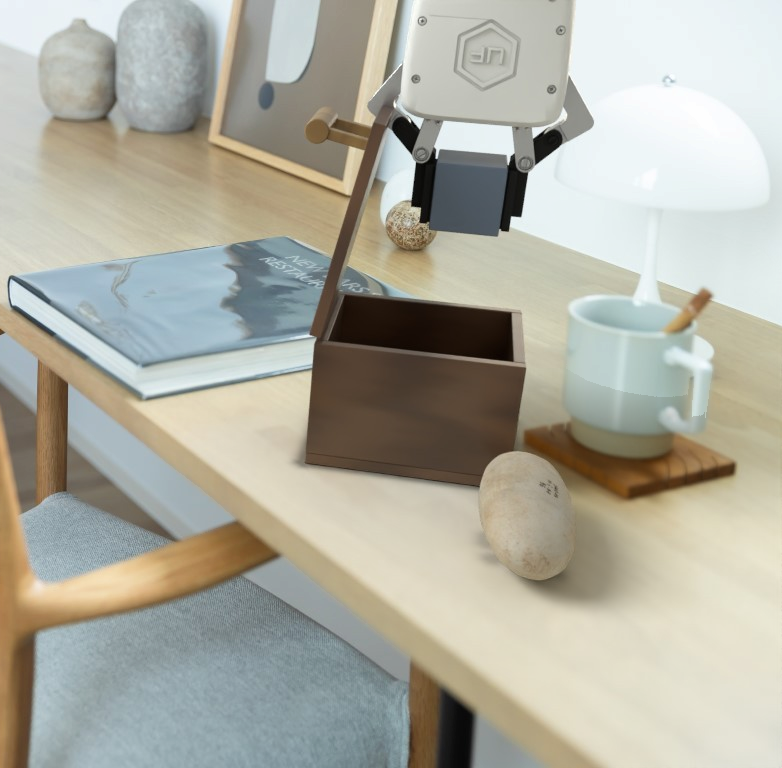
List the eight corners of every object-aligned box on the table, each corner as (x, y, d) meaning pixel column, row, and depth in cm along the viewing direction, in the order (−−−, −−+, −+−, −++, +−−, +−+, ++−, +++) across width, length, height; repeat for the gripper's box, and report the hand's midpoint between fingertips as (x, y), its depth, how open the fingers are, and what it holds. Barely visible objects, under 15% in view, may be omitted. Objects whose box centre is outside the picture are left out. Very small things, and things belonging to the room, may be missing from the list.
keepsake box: (505, 419, 88) (522, 309, 85) (507, 490, 78) (526, 367, 74) (326, 397, 91) (335, 290, 87) (304, 463, 80) (314, 343, 77)
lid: (399, 96, 81) (330, 76, 81) (385, 125, 71) (306, 102, 71) (340, 285, 87) (276, 266, 88) (320, 338, 77) (247, 316, 77)
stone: (559, 462, 76) (627, 502, 64) (520, 550, 76) (581, 606, 64) (477, 429, 75) (531, 463, 64) (439, 518, 76) (484, 569, 64)
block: (497, 219, 80) (507, 154, 78) (498, 237, 76) (508, 168, 74) (431, 213, 81) (439, 148, 79) (428, 230, 77) (436, 162, 75)
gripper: (358, -75, 69) (331, 224, 77) (655, -59, 66) (599, 251, 74) (370, -78, 76) (344, 197, 83) (640, -63, 73) (590, 221, 80)
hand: (464, 219), depth 78 cm, fingers closed on block, 4 cm apart
